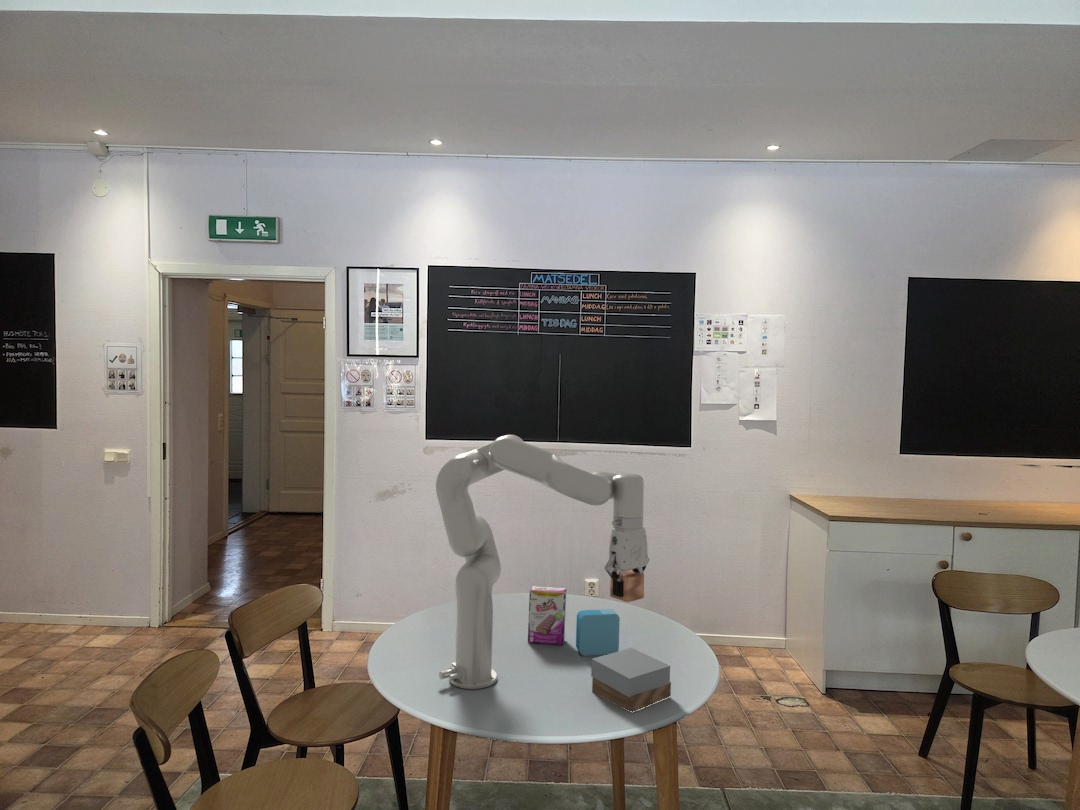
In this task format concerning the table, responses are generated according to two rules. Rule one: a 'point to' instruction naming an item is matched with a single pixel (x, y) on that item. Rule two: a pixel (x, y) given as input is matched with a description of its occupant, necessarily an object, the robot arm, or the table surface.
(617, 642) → the blue rounded block
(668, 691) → the tower bottom
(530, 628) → the candy bar box
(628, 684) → the tower top
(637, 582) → the stack block
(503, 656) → the table surface
